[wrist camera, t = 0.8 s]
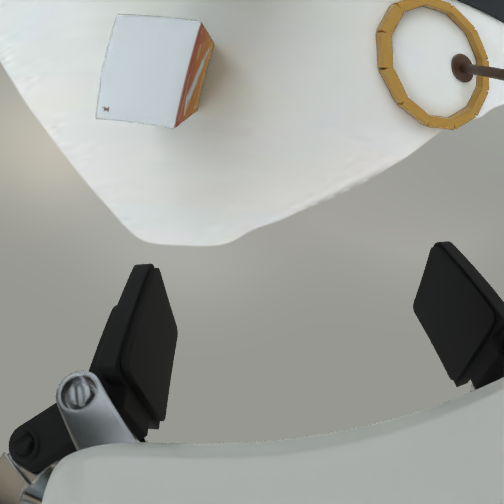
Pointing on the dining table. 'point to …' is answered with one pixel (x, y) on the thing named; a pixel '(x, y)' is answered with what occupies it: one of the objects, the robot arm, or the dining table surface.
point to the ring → (392, 80)
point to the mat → (488, 7)
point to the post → (473, 69)
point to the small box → (153, 70)
